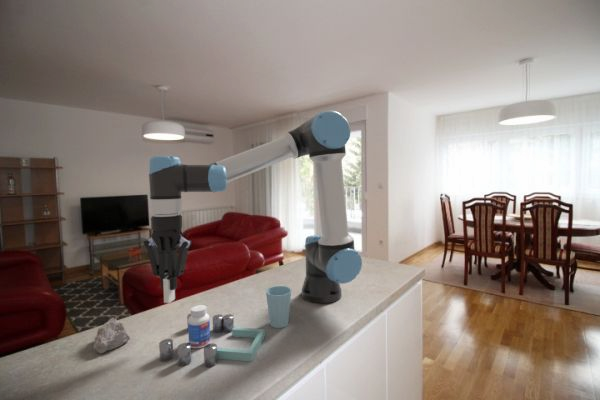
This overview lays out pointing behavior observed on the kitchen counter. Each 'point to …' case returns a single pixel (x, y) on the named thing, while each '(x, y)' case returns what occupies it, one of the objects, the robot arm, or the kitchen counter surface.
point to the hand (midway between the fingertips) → (169, 300)
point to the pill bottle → (199, 327)
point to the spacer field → (184, 349)
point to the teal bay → (243, 354)
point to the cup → (278, 305)
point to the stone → (110, 336)
